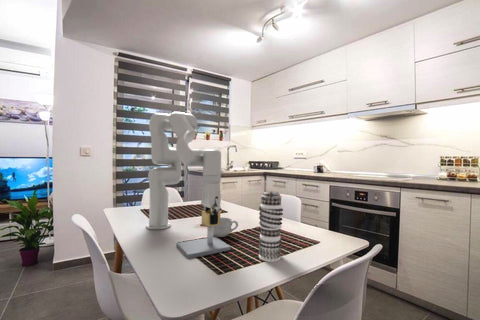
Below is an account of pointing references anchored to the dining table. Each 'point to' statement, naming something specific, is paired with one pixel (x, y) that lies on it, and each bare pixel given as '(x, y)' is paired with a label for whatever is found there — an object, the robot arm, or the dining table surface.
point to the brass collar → (208, 218)
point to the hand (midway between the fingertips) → (210, 221)
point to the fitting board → (203, 245)
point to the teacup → (224, 227)
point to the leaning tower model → (270, 226)
